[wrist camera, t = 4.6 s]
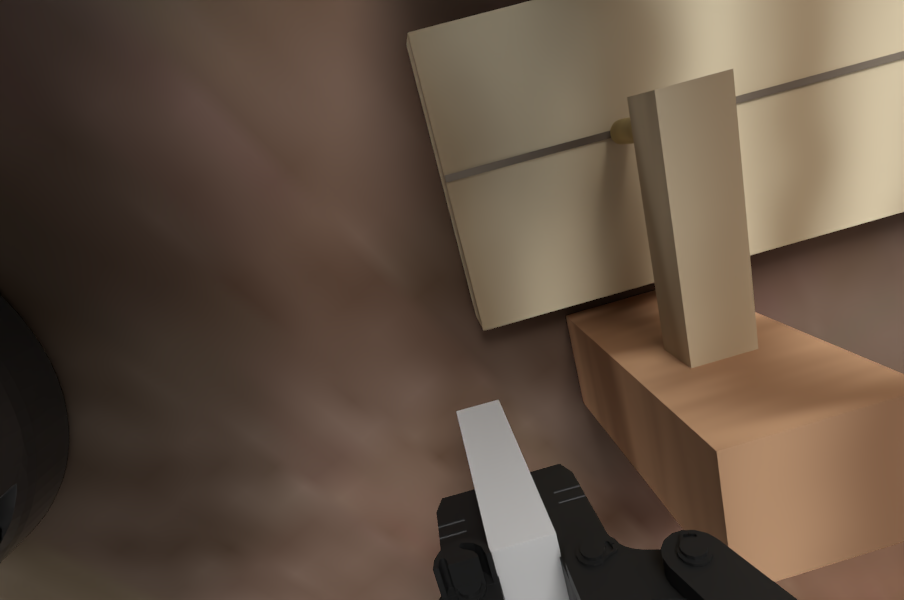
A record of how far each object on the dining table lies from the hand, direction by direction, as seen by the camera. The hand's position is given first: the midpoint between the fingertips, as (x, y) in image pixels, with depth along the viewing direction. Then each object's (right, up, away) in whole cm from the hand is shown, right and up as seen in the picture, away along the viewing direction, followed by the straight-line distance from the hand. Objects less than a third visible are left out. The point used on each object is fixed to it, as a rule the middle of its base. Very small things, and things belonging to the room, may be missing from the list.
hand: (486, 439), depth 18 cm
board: (+10, +12, +2) cm, 16 cm away
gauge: (+5, +6, +3) cm, 9 cm away
